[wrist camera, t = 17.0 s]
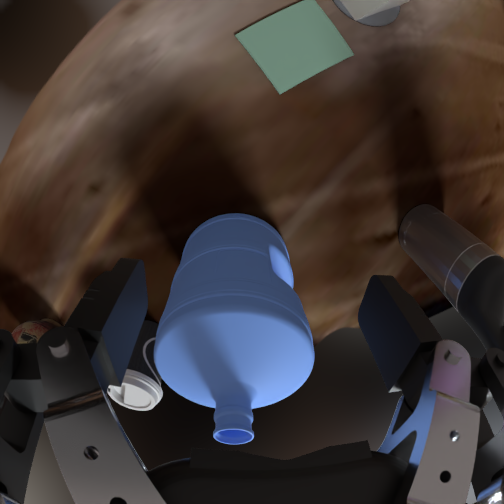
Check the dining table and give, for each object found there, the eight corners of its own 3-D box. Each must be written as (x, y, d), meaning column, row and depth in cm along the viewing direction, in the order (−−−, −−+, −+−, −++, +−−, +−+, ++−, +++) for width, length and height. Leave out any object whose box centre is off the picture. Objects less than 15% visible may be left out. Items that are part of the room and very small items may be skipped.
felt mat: (311, -2, 26) (311, -3, 25) (353, 55, 30) (354, 54, 30) (234, 35, 29) (234, 35, 28) (279, 94, 33) (280, 94, 32)
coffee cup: (141, 304, 47) (116, 370, 34) (184, 333, 51) (172, 401, 37) (118, 331, 50) (94, 392, 37) (157, 356, 54) (143, 418, 40)
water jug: (178, 291, 46) (140, 452, 22) (192, 200, 39) (126, 359, 14) (270, 308, 48) (292, 468, 24) (300, 224, 41) (371, 388, 17)
